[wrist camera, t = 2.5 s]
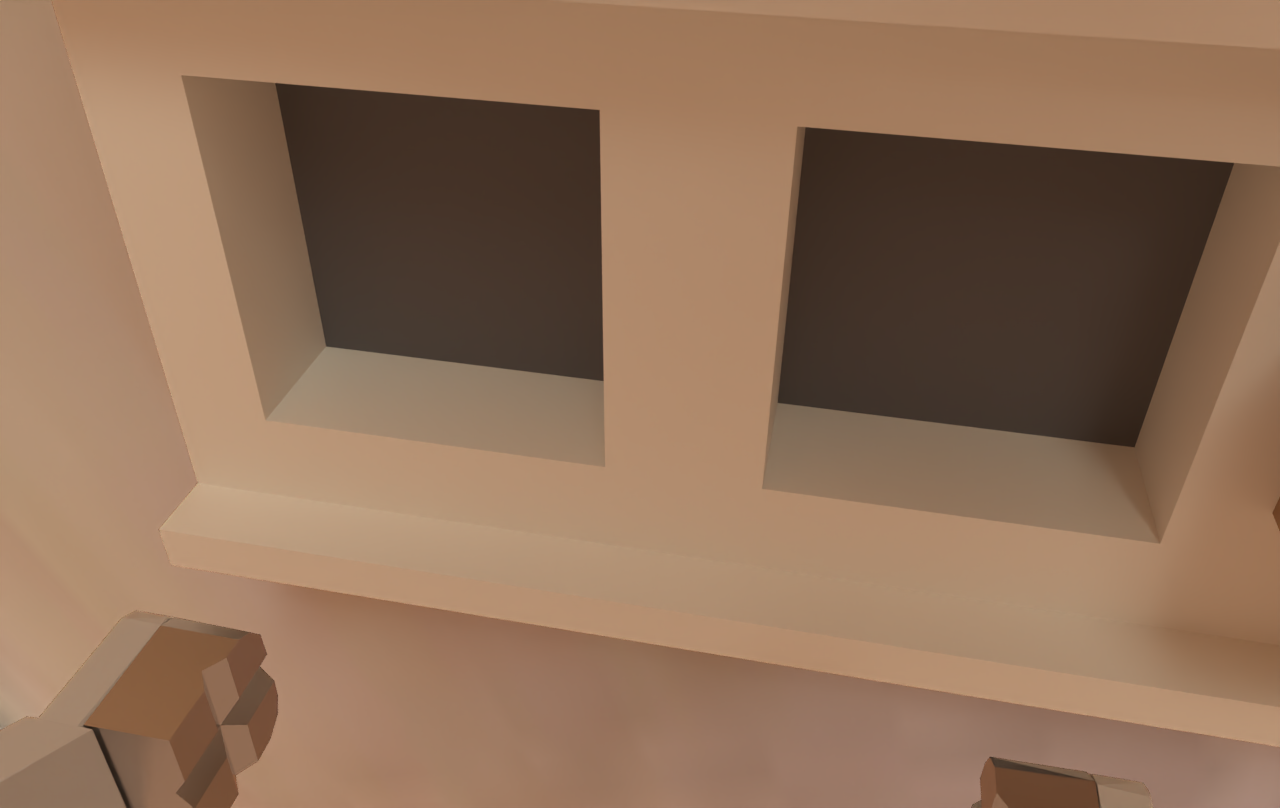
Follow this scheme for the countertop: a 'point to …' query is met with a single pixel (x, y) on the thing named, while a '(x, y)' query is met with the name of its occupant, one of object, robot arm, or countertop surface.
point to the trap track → (732, 323)
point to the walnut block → (1277, 513)
